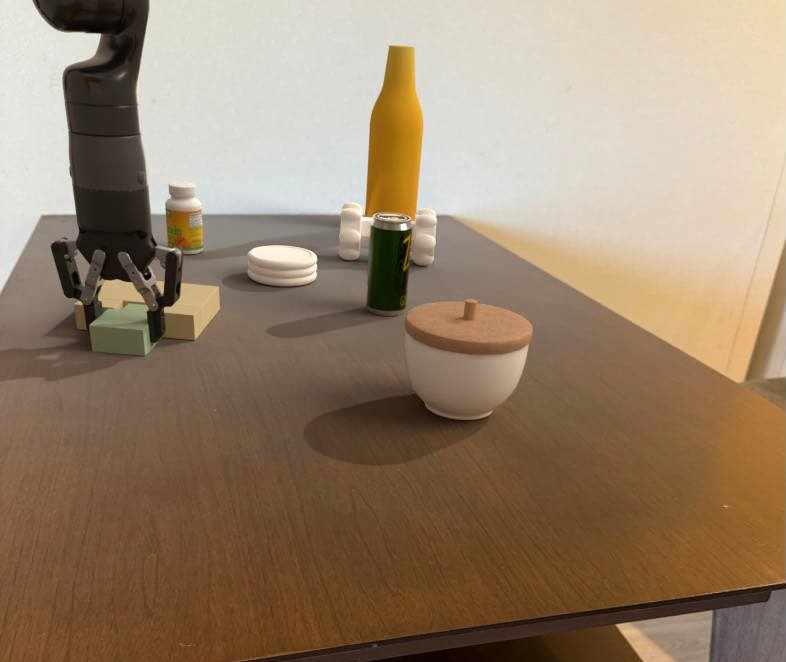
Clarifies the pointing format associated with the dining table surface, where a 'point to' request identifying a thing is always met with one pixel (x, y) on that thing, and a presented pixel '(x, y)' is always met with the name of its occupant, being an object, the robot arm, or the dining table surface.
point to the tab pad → (122, 331)
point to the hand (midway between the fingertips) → (126, 337)
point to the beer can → (388, 263)
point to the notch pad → (179, 319)
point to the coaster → (282, 265)
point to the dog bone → (358, 233)
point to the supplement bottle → (184, 218)
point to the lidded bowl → (465, 356)
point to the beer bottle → (395, 139)
